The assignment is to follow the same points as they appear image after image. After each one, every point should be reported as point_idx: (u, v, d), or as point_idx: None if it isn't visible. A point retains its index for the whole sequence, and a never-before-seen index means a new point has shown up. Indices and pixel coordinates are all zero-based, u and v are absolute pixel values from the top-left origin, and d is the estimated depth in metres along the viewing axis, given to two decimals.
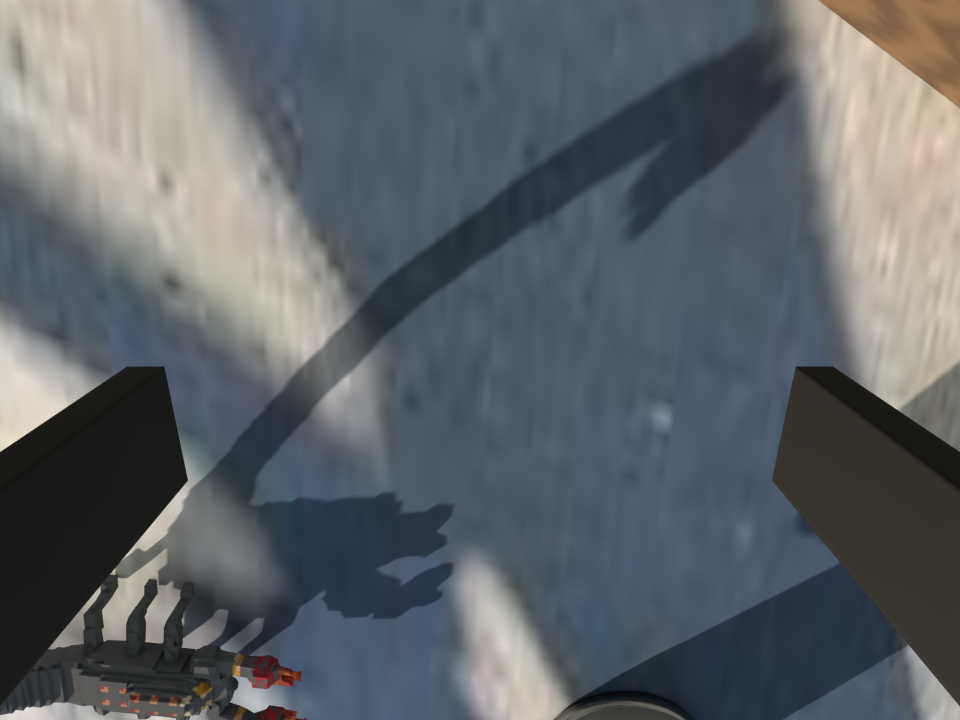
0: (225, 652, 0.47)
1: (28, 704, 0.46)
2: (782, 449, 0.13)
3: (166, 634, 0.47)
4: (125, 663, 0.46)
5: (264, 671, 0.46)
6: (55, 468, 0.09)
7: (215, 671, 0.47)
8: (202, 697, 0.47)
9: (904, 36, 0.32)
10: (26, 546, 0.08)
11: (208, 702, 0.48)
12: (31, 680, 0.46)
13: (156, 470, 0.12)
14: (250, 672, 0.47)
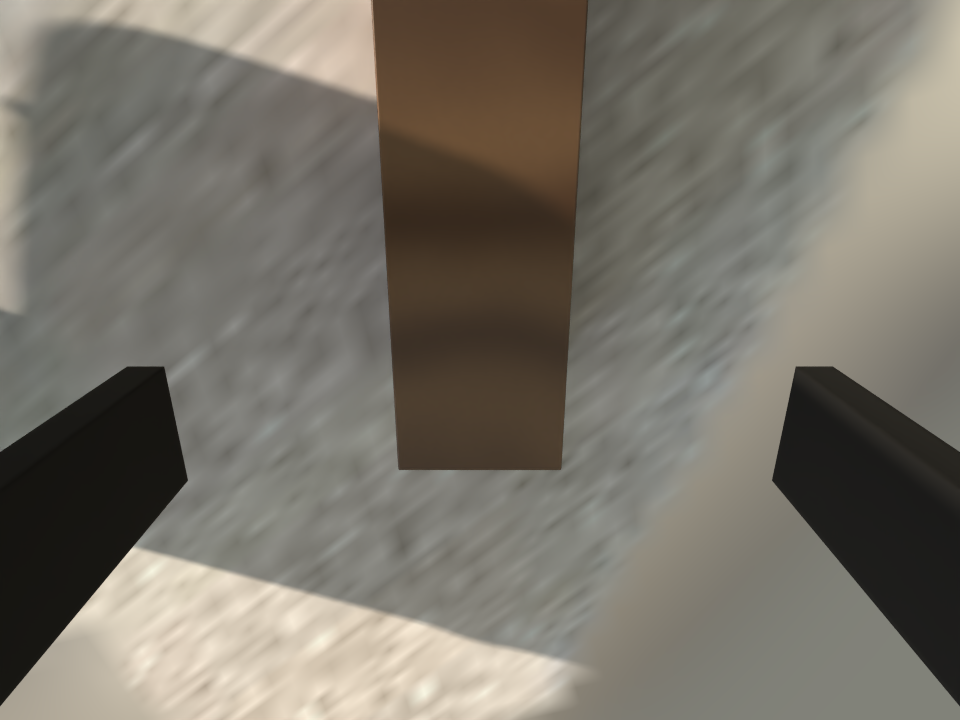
0: None
1: None
2: (782, 450, 0.13)
3: None
4: None
5: None
6: (55, 468, 0.09)
7: None
8: None
9: None
10: (26, 546, 0.08)
11: None
12: None
13: (156, 470, 0.12)
14: None
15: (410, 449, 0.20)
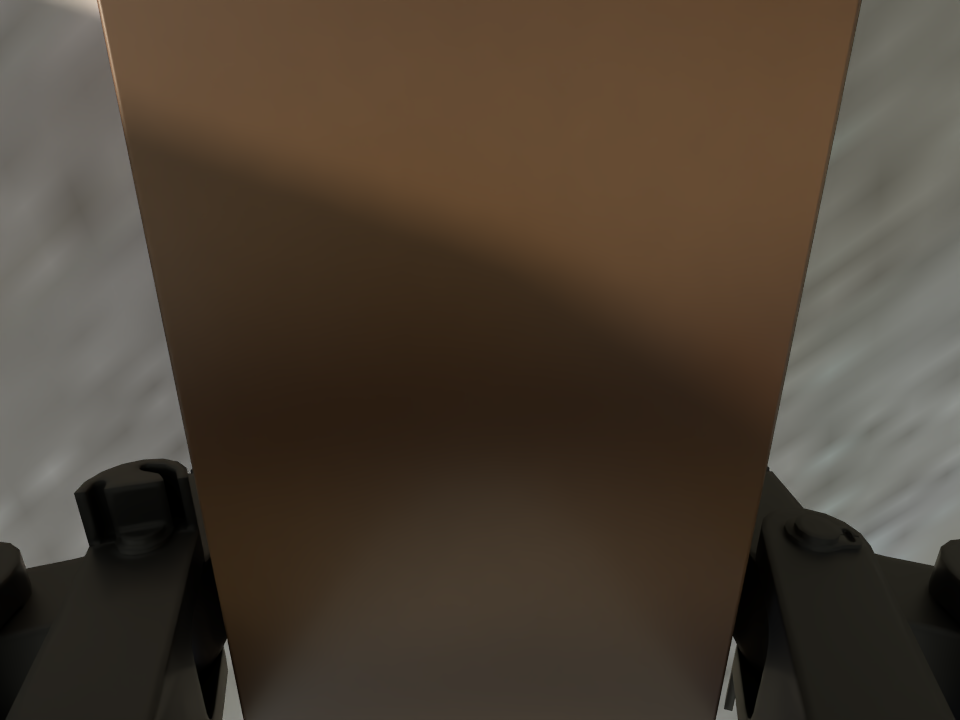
0: None
1: None
2: None
3: None
4: None
5: None
6: None
7: None
8: None
9: None
10: None
11: None
12: None
13: None
14: None
15: None
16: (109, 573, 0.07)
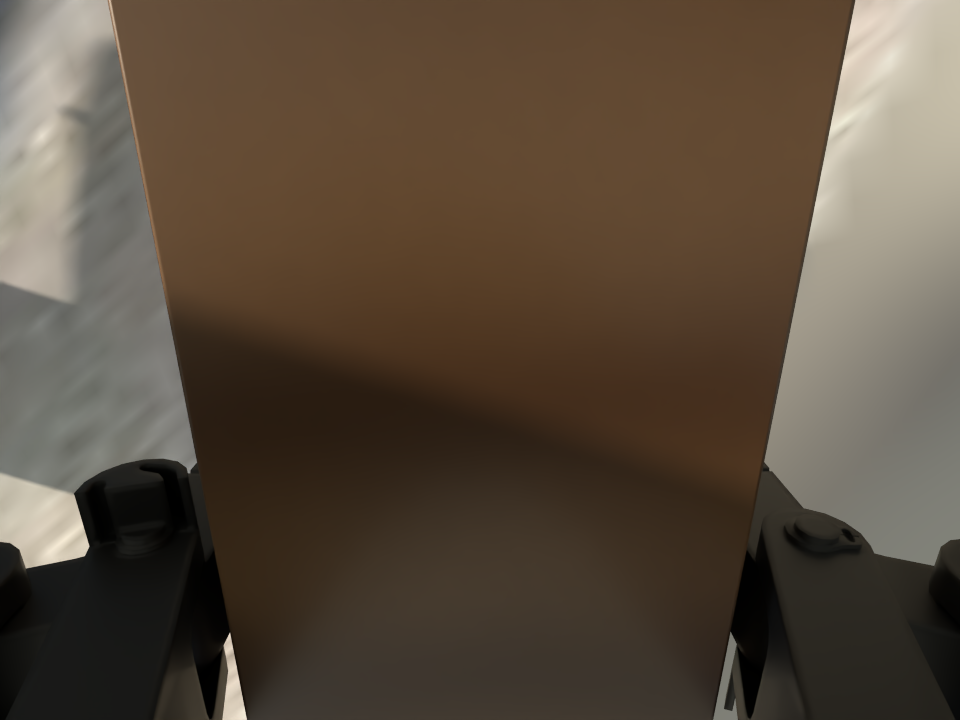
0: None
1: None
2: None
3: None
4: None
5: None
6: None
7: None
8: None
9: None
10: None
11: None
12: None
13: None
14: None
15: None
16: (109, 573, 0.07)
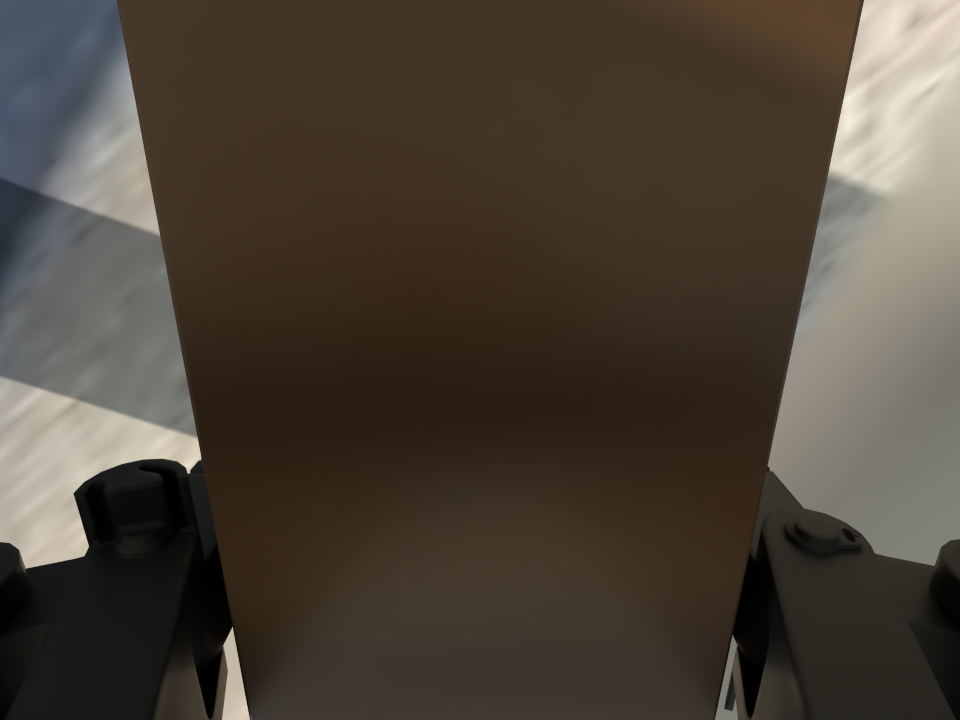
0: None
1: None
2: None
3: None
4: None
5: None
6: None
7: None
8: None
9: None
10: None
11: None
12: None
13: None
14: None
15: None
16: (109, 573, 0.07)
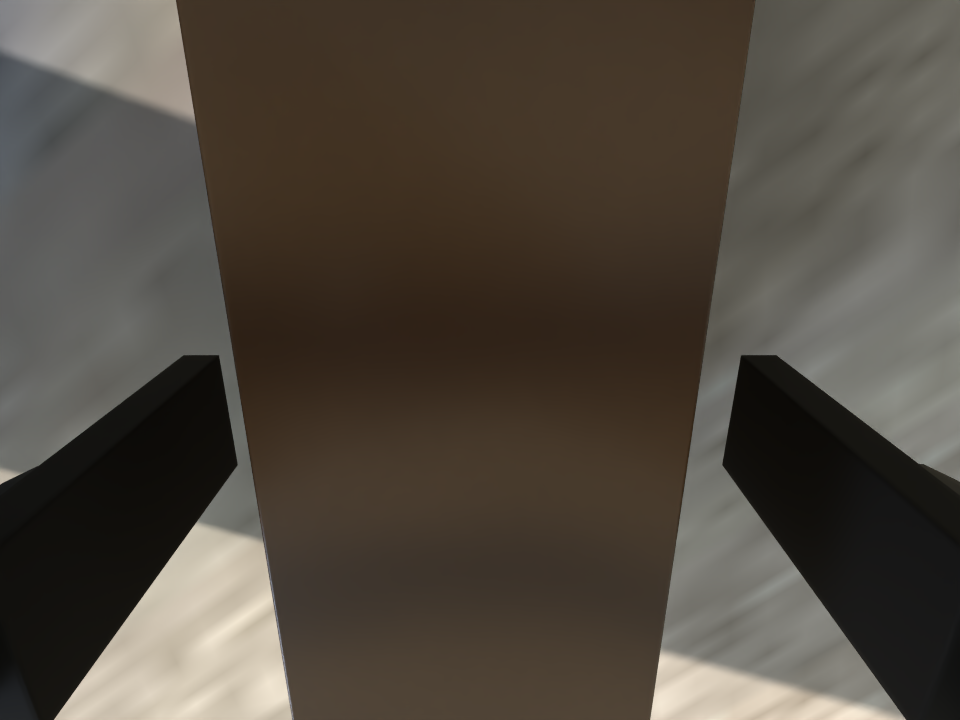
0: None
1: None
2: (730, 435, 0.13)
3: None
4: None
5: None
6: (134, 447, 0.10)
7: None
8: None
9: None
10: (112, 518, 0.09)
11: None
12: None
13: (212, 453, 0.12)
14: None
15: None
16: None
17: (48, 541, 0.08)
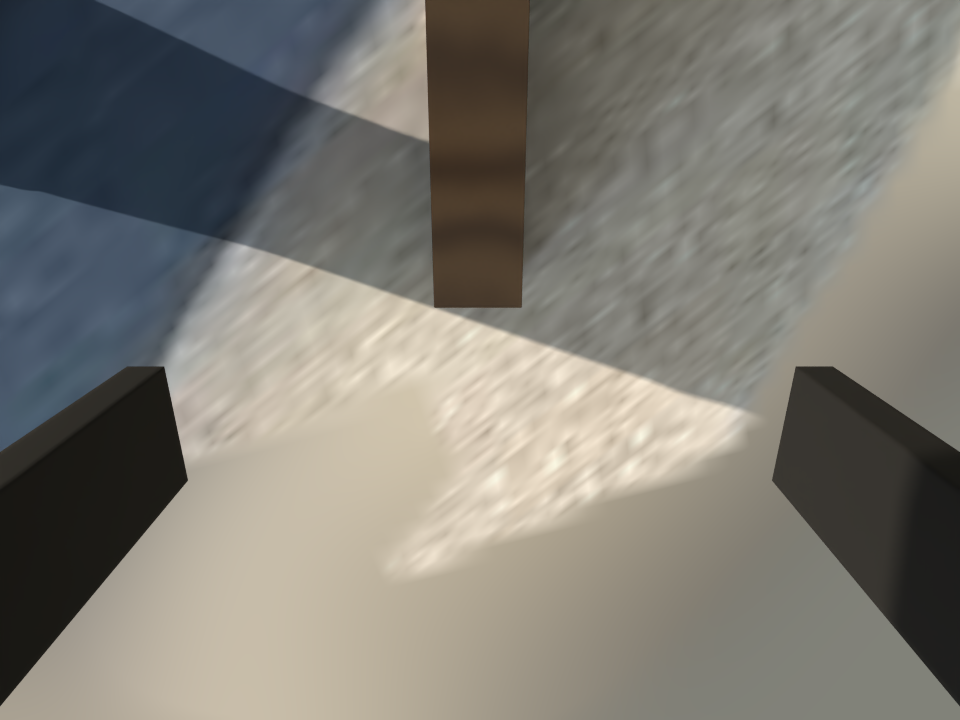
0: None
1: None
2: (782, 449, 0.13)
3: None
4: None
5: None
6: (55, 468, 0.09)
7: None
8: None
9: None
10: (26, 546, 0.08)
11: None
12: None
13: (156, 470, 0.12)
14: None
15: (440, 295, 0.38)
16: None
17: None
